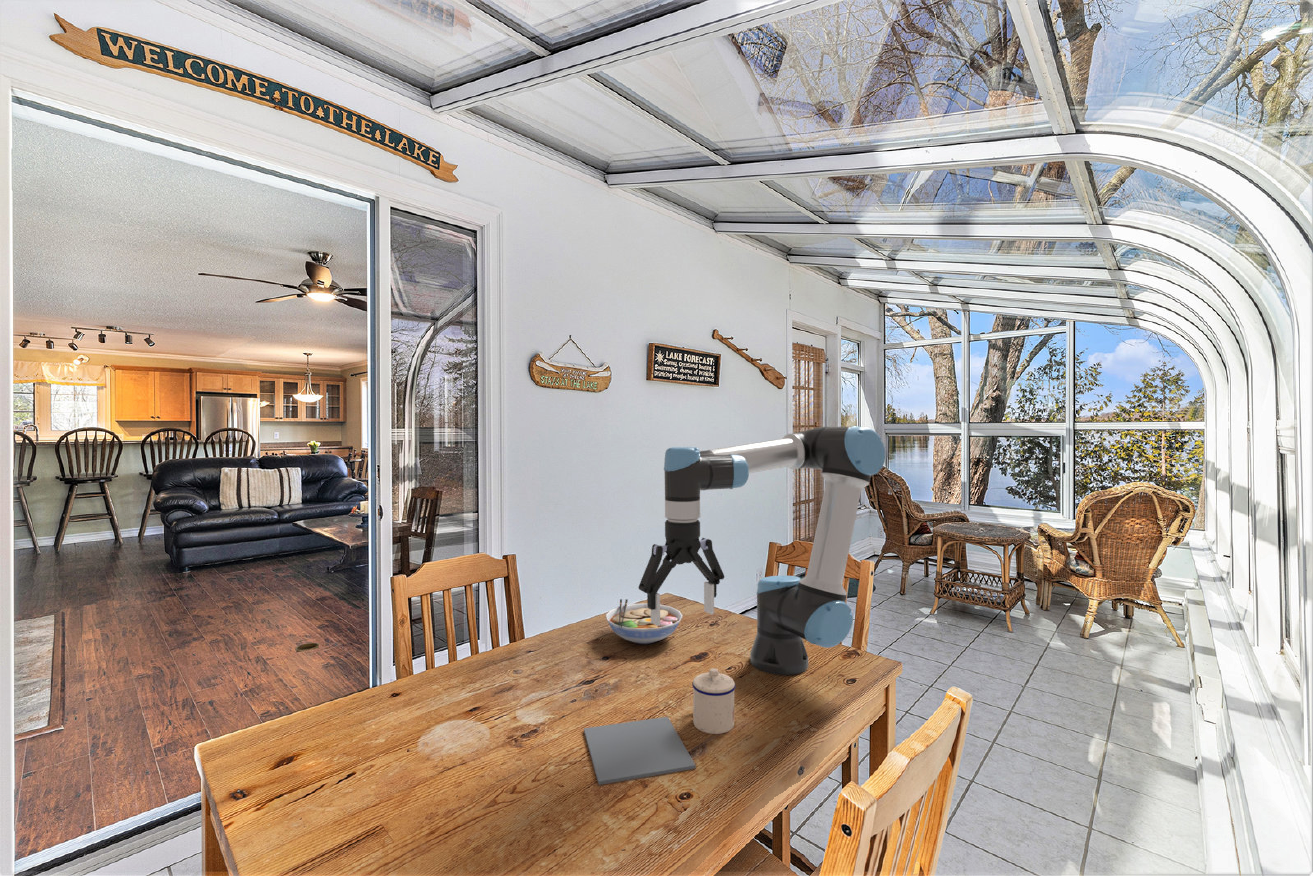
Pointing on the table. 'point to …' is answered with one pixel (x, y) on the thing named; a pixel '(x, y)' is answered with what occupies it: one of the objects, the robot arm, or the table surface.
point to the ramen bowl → (642, 622)
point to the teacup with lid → (713, 702)
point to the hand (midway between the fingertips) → (683, 618)
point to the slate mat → (636, 750)
